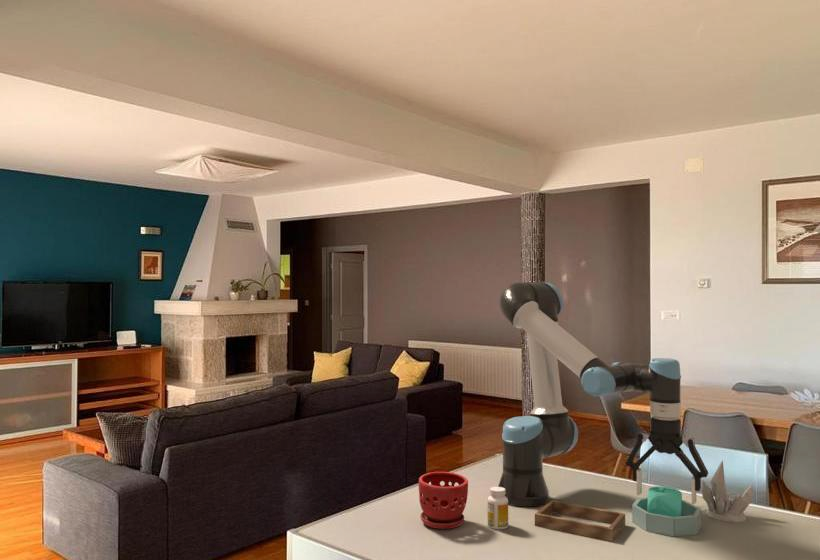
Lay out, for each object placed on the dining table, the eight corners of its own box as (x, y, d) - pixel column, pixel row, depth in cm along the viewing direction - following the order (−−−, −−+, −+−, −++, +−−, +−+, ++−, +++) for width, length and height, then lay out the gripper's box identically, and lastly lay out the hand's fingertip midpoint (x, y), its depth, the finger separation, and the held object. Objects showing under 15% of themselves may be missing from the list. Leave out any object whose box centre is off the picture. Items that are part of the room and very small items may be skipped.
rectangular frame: (534, 525, 165) (534, 513, 165) (552, 510, 176) (551, 500, 176) (612, 541, 155) (611, 529, 155) (625, 525, 166) (625, 513, 166)
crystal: (761, 523, 167) (760, 466, 167) (707, 520, 169) (707, 464, 169) (747, 510, 176) (747, 456, 177) (697, 508, 179) (697, 454, 179)
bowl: (627, 527, 164) (627, 510, 164) (641, 509, 177) (641, 493, 177) (694, 540, 155) (694, 522, 155) (704, 520, 169) (703, 503, 169)
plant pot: (411, 529, 163) (411, 482, 163) (428, 512, 175) (427, 469, 176) (460, 535, 159) (460, 487, 159) (473, 518, 171) (473, 473, 171)
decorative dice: (680, 528, 161) (680, 497, 161) (647, 523, 164) (647, 492, 164) (682, 518, 168) (681, 488, 168) (650, 513, 171) (650, 484, 172)
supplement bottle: (510, 523, 167) (509, 486, 167) (506, 531, 162) (506, 493, 162) (489, 521, 168) (489, 484, 169) (485, 528, 163) (485, 490, 164)
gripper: (613, 414, 170) (614, 493, 170) (715, 425, 157) (716, 511, 156) (620, 410, 177) (621, 486, 176) (719, 420, 163) (720, 502, 163)
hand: (666, 498), depth 166 cm, fingers open, 13 cm apart
